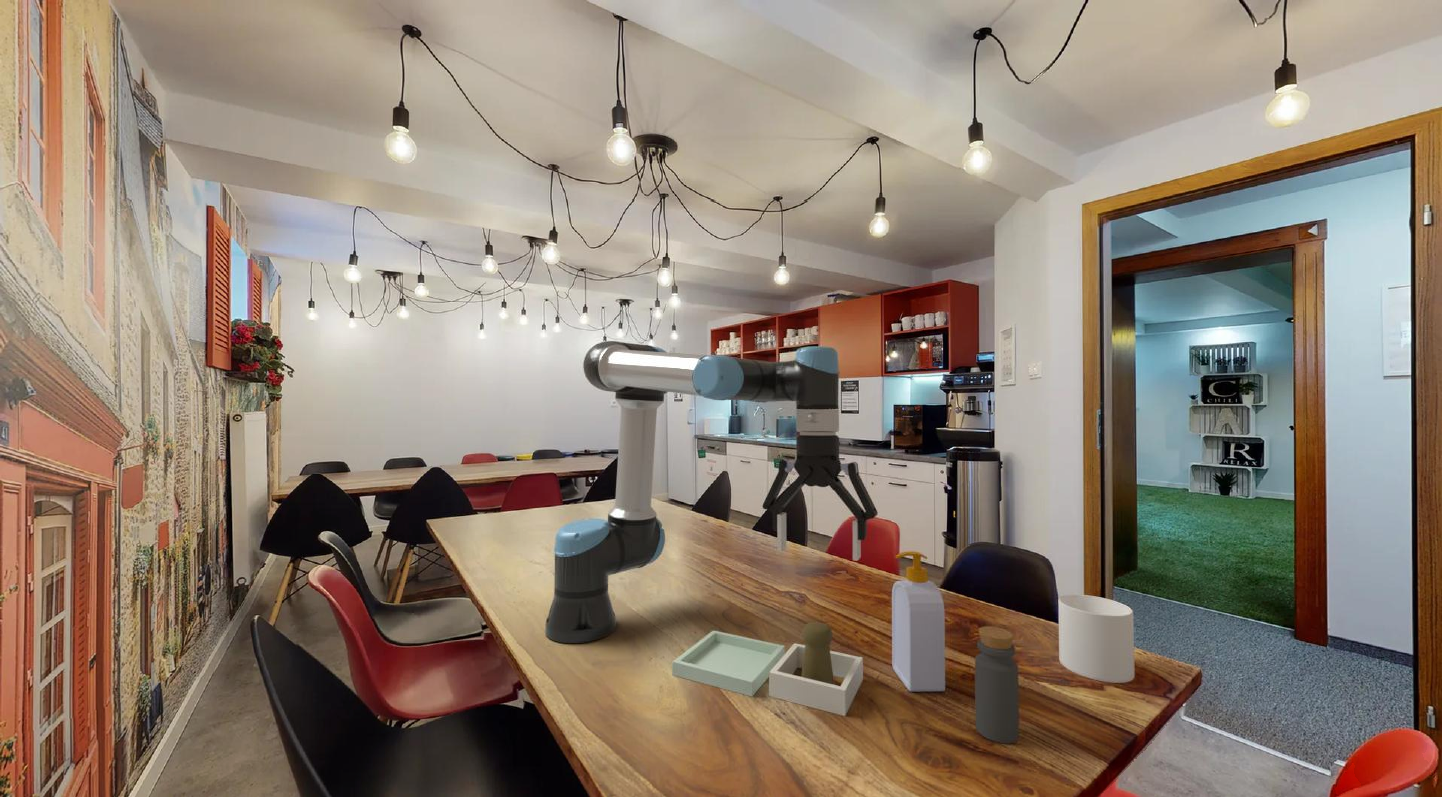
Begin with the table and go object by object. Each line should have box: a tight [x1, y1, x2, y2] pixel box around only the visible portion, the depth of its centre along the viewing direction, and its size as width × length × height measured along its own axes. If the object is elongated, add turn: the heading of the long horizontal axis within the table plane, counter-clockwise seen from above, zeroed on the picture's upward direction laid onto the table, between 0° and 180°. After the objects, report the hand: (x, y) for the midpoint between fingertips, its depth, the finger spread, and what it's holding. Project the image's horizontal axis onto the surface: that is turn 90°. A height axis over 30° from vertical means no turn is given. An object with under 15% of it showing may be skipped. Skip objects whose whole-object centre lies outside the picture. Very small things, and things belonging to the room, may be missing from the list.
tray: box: [671, 629, 786, 697], centre depth 101 cm, size 16×16×2 cm
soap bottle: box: [891, 550, 946, 692], centre depth 96 cm, size 9×7×23 cm
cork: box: [800, 621, 835, 685], centre depth 93 cm, size 6×6×11 cm
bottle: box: [974, 625, 1020, 745], centre depth 80 cm, size 6×6×15 cm
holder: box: [768, 643, 864, 717], centre depth 93 cm, size 13×13×4 cm
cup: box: [1058, 593, 1135, 684], centre depth 101 cm, size 12×12×12 cm
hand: (818, 554), depth 94 cm, fingers open, 13 cm apart
